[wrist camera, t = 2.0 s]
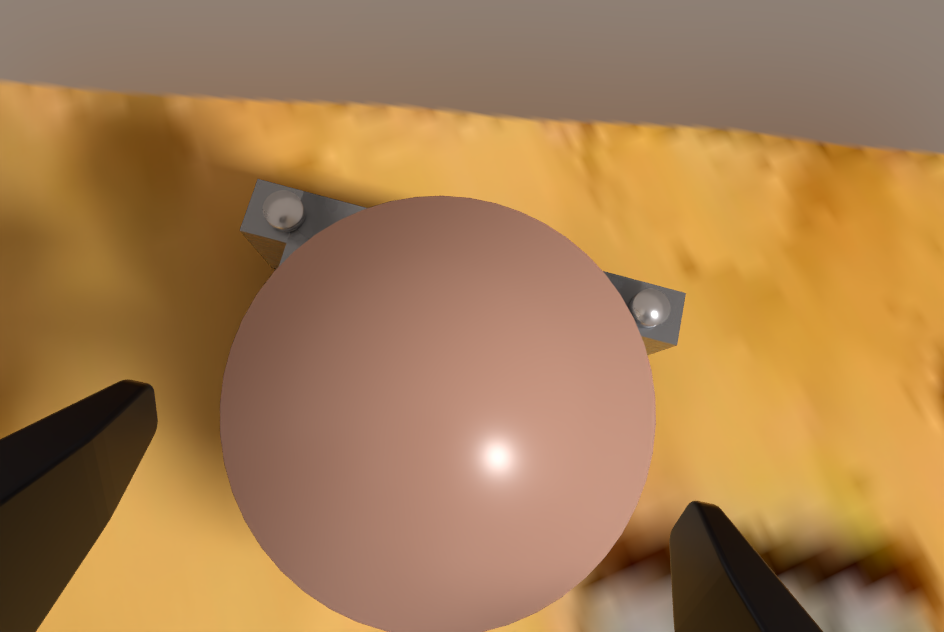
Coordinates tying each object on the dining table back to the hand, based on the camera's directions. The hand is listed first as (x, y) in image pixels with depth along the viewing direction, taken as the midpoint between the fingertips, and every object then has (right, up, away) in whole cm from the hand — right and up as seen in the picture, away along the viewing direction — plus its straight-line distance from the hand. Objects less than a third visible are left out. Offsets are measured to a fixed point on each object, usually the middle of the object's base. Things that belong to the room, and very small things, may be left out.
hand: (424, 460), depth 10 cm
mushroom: (-1, -1, +9) cm, 9 cm away
